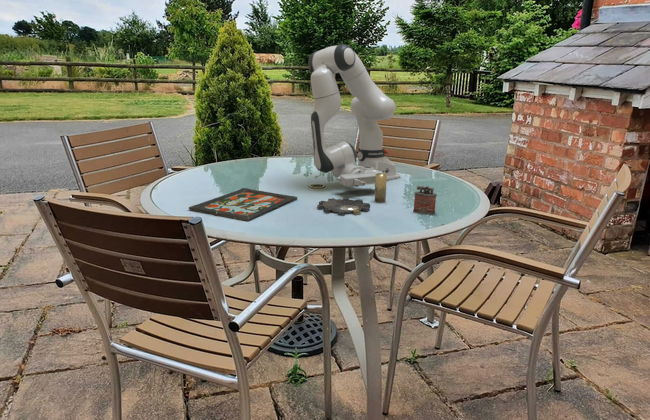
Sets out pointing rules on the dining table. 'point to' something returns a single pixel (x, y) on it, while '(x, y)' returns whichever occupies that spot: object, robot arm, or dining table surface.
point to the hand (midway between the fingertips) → (373, 182)
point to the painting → (244, 204)
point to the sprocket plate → (343, 206)
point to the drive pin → (380, 187)
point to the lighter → (424, 200)
